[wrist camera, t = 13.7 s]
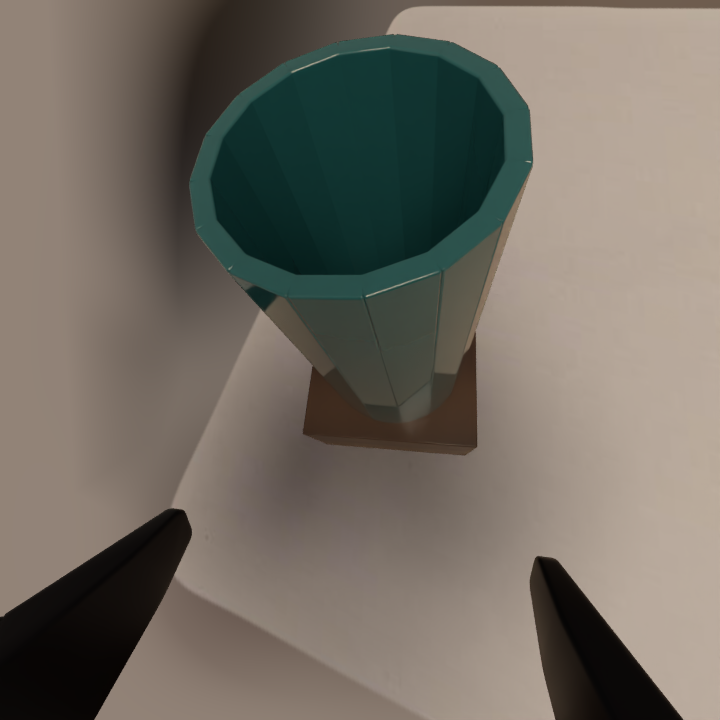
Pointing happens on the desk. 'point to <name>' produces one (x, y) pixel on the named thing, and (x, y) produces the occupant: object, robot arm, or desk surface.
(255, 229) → the tumbler
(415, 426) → the block
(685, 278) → the desk surface
